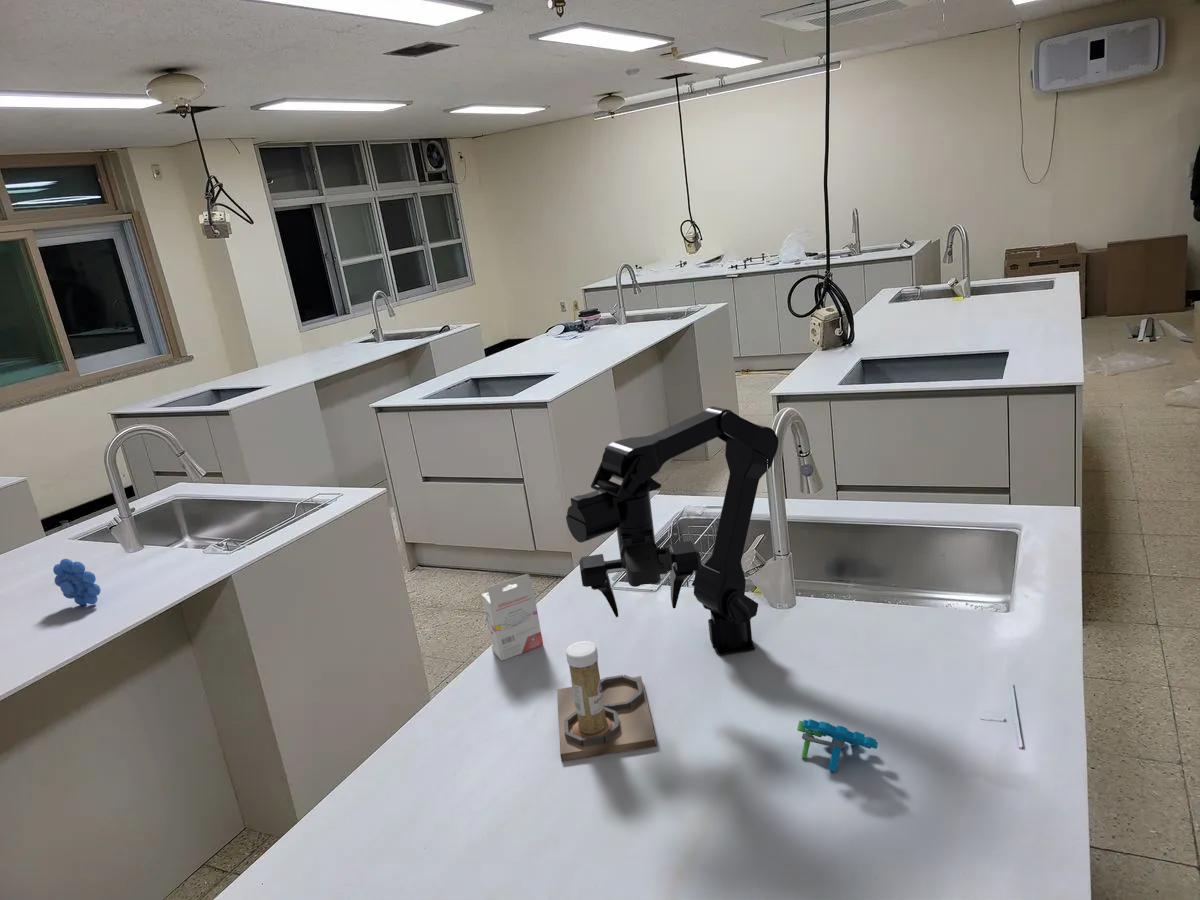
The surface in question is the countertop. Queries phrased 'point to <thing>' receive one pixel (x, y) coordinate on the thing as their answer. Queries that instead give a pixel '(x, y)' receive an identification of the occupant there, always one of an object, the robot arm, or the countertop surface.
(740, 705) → the countertop surface
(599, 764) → the countertop surface
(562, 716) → the board
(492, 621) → the ink cartridge box
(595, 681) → the sprinkles bottle
